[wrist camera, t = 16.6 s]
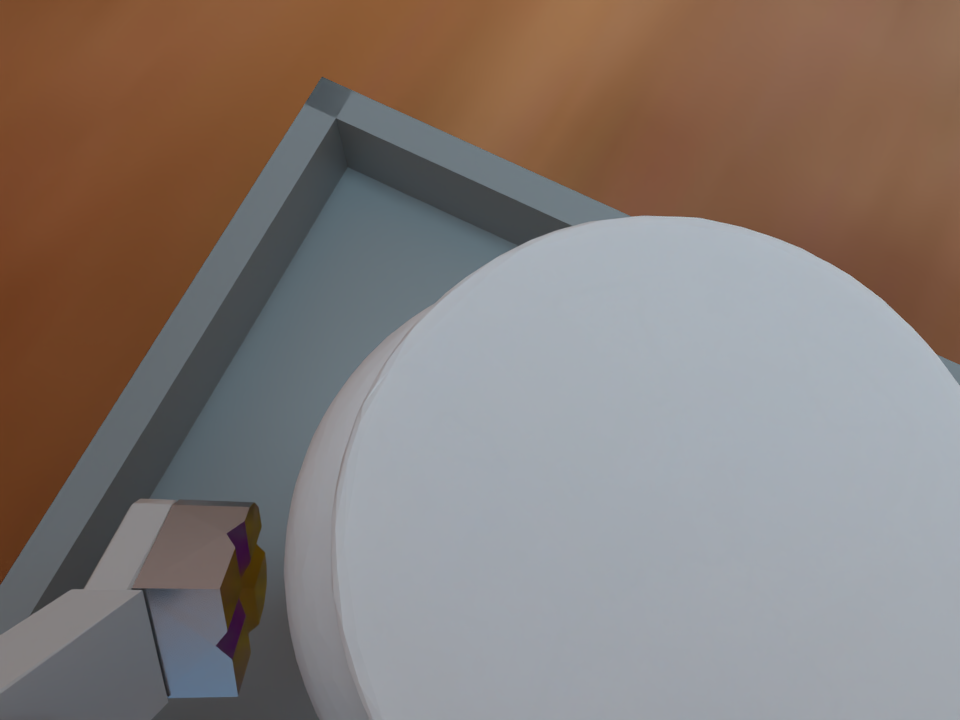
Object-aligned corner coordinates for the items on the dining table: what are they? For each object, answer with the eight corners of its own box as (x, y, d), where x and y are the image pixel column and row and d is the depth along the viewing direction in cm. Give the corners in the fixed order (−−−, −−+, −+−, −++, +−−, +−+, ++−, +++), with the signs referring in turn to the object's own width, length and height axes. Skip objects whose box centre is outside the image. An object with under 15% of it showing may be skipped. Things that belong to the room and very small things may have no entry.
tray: (-10, 719, 17) (-103, 747, 14) (338, 145, 21) (322, 76, 18) (749, 1136, 16) (817, 1262, 13) (966, 434, 20) (1056, 408, 17)
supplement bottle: (318, 488, 18) (36, 273, 5) (581, 374, 19) (843, -27, 6) (437, 787, 16) (417, 1424, 4) (715, 645, 17) (1399, 800, 5)
